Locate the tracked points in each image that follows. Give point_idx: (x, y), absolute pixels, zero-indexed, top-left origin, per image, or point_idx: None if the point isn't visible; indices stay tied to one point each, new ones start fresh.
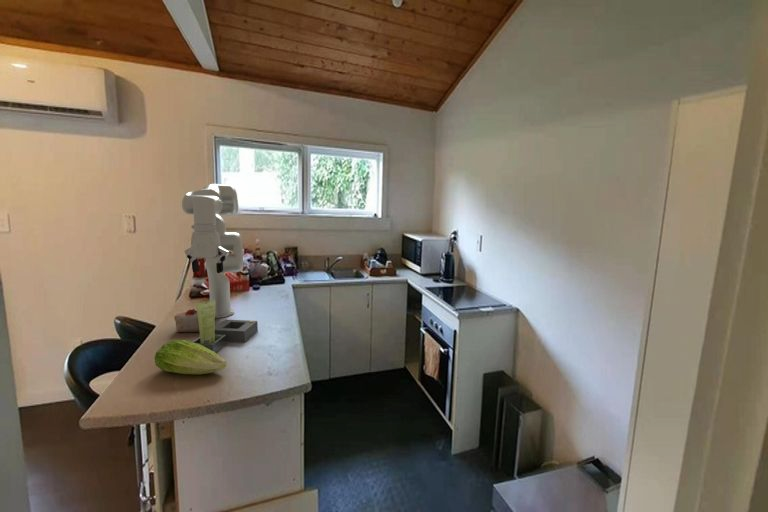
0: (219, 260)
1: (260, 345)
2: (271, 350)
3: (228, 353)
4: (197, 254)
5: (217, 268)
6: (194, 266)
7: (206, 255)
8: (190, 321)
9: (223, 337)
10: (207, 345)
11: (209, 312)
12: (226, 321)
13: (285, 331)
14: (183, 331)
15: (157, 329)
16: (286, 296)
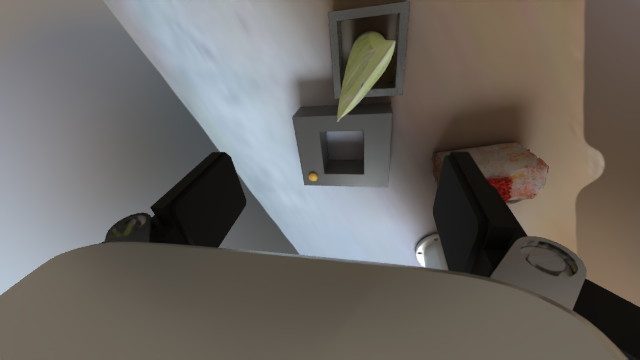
0: (123, 239)
1: (257, 97)
2: (217, 74)
3: (299, 33)
4: (389, 343)
5: (196, 171)
6: (462, 191)
7: (159, 286)
8: (482, 160)
9: (333, 81)
10: (344, 10)
11: (349, 72)
12: (377, 175)
13: (256, 175)
14: (496, 144)
15: (593, 157)
16: None
